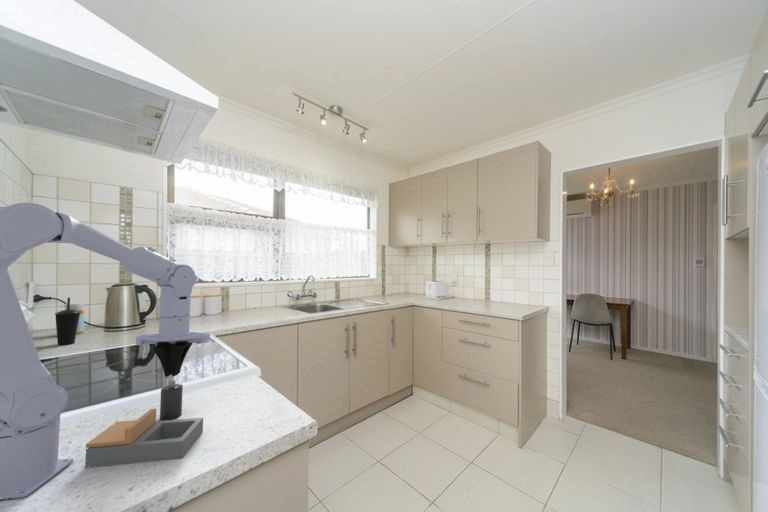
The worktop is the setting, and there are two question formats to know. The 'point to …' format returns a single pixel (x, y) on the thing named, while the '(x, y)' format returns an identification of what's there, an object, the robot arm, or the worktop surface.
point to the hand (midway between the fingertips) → (172, 374)
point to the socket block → (150, 444)
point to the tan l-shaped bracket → (124, 431)
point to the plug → (171, 401)
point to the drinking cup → (67, 325)
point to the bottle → (81, 318)
